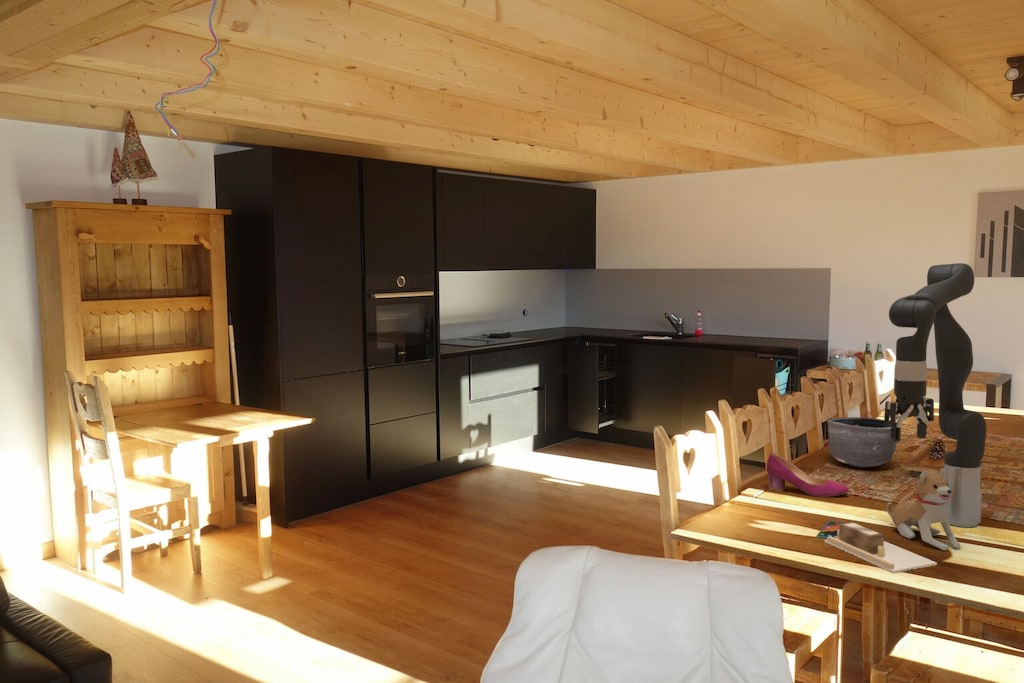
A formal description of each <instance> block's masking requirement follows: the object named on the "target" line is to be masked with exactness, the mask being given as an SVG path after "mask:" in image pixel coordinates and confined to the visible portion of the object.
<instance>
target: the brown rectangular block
mask: <svg viewBox="0 0 1024 683" xmlns="http://www.w3.org/2000/svg"><path fill="white" fill-rule="evenodd" d="M844 523H845V524H839V540H841V541H843V542H845V543H847V544H850V545H852V546H854V547H857V548H859V549H861V550H863V551H866V552H868V553H870V554H878V546H884V541H885V535H884V534H882V532H881V533H880V532H878V531H875V530H873V529H872V528H868V527H866V526H863V525H861V524H858V523H856V522H844Z"/></svg>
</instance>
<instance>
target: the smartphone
mask: <svg viewBox="0 0 1024 683" xmlns="http://www.w3.org/2000/svg"><path fill="white" fill-rule="evenodd" d="M845 523H846V522H841V521H836V520H828V522H827V523H826V524H825V525H823V528H821V530H820V531H819V532H818V533H817V534H816V538H817V537H818V538H819V539H823V538H824V540H827V537H829V536H831V537H834V538H837V530H838V529H839V524H845ZM818 538H817V539H818Z"/></svg>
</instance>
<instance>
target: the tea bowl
mask: <svg viewBox="0 0 1024 683" xmlns="http://www.w3.org/2000/svg"><path fill="white" fill-rule="evenodd" d="M826 422H827V432H828V433H827V434H828V453H829V455H830V456H832V457H833V458H834V459H836V460H837V461H839V462H841V463H844V464H847V465H849V466H850V467H853V468H854V467H855V468H859V469H860V468H862V469H863V468H865V469H866V468H874V467H879V466H881V465H884V464H887V463H889V462H890V461H892V460H893V456H894V454H895V451H896V449H897V443H898V442H895V441H892V439H891V426H890V425H887V424H884V419H881V418H875V417H862V416H860V417H859V416H858V417H857V416H851V417H836V418H835V417H834V418H830V419H829V418H828V420H827V421H826Z"/></svg>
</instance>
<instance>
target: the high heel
mask: <svg viewBox="0 0 1024 683" xmlns="http://www.w3.org/2000/svg"><path fill="white" fill-rule="evenodd" d="M766 472H767V474H768V475H767V476H768V489H769V490H772V491H776V492H777V491H778V492H783V491H785V489H786V482H788V483H789V484H791V485H793V486H794V487H796V488H798V490H801V491H802V492H803V493H805V494H807V495H809V496H813V497H818V498H819V497H820V498H821V497H836V496H837V497H838V496H840V495H845V494H847V493H849V491H850V489H849V487H848V486H847V485H845V484H843V483H840V482H837V481H833V480H831V479H821V478H816V477H813V476H811V475H809V474H808V473H806V472H804V471H803V470H802V469H800V468H799V467H797V466H796V465H794V464H793V463H791V462H790V461H788V459H785V458H784V457H782V456H781V455H778V454H776V453H774V452H771V453H770V454H769V456H768V459H767V462H766Z"/></svg>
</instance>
